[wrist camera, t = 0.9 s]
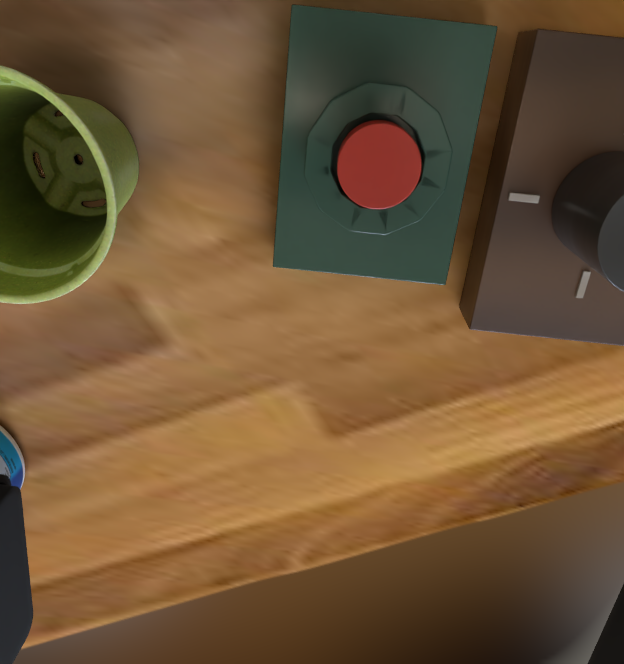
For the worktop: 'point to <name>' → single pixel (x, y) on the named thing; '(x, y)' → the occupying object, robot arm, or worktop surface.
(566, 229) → the dial
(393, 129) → the button
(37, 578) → the worktop surface
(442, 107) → the button box
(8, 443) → the beverage bottle
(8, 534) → the robot arm
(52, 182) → the plant pot
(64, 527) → the worktop surface
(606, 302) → the dial panel
